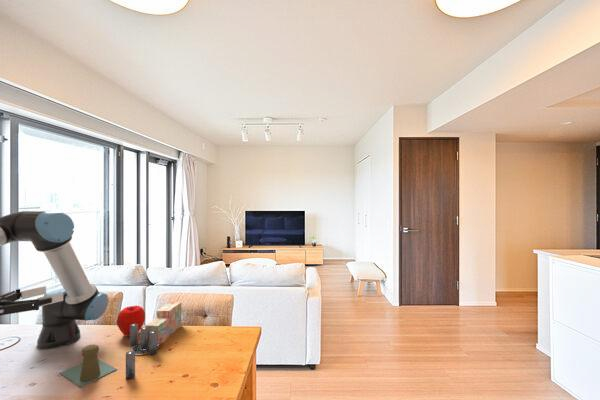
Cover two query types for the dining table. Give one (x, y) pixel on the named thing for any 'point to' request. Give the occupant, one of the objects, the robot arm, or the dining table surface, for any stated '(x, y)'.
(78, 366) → the mat
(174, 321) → the stack of blocks
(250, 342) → the dining table surface
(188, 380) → the dining table surface
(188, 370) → the dining table surface
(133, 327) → the spacer posts
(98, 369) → the cork
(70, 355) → the dining table surface
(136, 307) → the apple
